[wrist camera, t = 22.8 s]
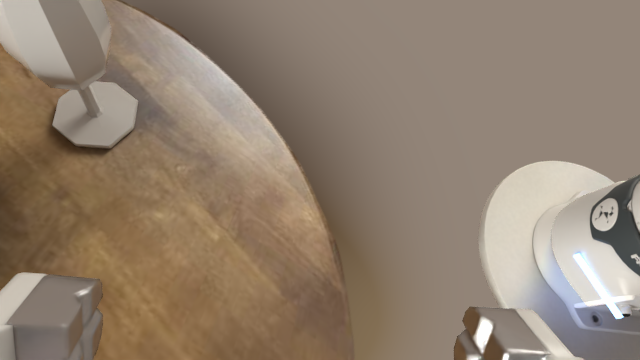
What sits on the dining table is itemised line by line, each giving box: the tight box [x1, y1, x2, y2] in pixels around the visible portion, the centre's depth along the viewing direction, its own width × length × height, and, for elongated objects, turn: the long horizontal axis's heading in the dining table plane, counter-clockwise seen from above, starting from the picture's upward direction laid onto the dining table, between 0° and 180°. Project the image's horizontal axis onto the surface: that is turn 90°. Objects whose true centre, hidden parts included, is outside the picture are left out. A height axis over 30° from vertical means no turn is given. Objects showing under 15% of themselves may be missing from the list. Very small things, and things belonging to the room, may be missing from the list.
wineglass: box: [0, 0, 138, 149], centre depth 42 cm, size 9×9×21 cm
